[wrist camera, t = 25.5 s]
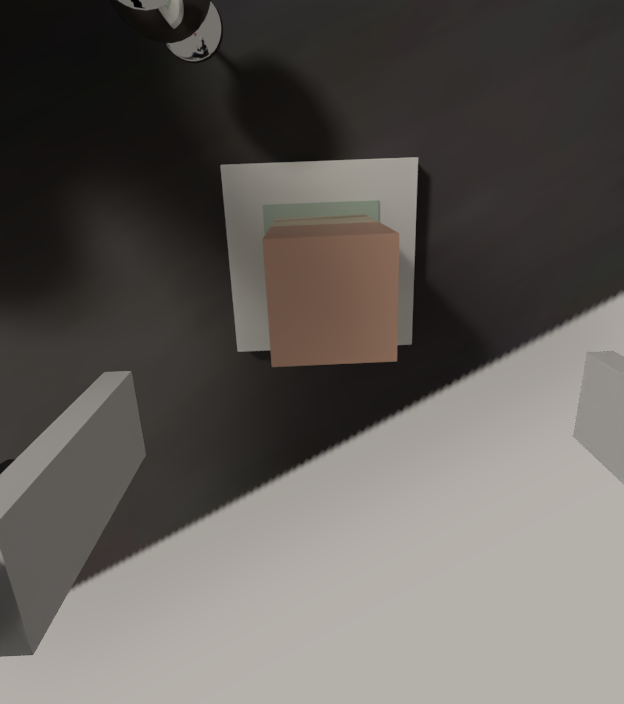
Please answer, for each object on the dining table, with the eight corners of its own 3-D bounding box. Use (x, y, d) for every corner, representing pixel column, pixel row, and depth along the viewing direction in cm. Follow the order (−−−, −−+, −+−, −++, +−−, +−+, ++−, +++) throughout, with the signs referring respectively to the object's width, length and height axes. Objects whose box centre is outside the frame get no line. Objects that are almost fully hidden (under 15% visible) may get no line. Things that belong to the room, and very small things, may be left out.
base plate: (224, 165, 39) (219, 164, 37) (412, 158, 39) (418, 157, 37) (240, 344, 44) (237, 352, 42) (406, 337, 44) (412, 345, 42)
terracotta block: (270, 226, 31) (262, 239, 25) (378, 221, 31) (399, 233, 25) (277, 330, 34) (271, 367, 27) (378, 325, 34) (397, 361, 27)
